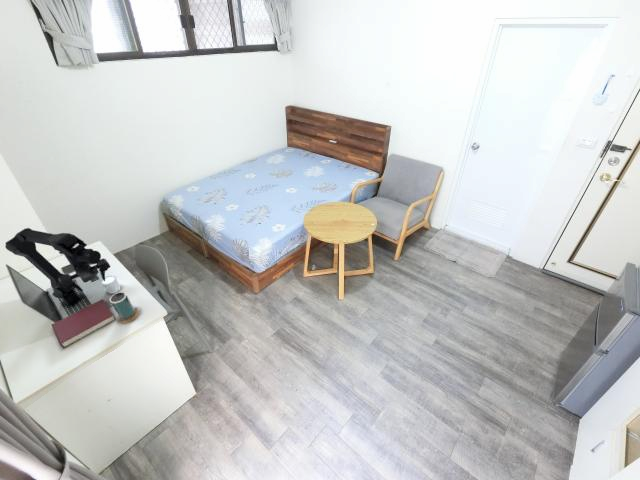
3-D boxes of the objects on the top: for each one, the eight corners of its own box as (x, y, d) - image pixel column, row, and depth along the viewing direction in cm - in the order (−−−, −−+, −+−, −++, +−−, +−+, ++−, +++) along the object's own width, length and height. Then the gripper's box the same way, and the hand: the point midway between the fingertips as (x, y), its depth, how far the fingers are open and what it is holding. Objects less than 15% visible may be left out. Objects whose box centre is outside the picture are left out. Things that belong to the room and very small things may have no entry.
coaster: (113, 320, 142) (113, 319, 141) (128, 306, 148) (128, 305, 148) (128, 325, 139) (128, 324, 139) (143, 310, 146) (143, 309, 146)
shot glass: (115, 295, 154) (109, 285, 150) (103, 293, 155) (97, 283, 151) (124, 286, 160) (119, 276, 155) (113, 284, 161) (107, 274, 157)
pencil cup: (108, 299, 143) (106, 296, 132) (123, 292, 147) (122, 288, 136) (123, 323, 144) (122, 321, 133) (137, 315, 147) (138, 312, 137)
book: (54, 328, 138) (51, 324, 136) (105, 302, 150) (102, 298, 148) (63, 348, 130) (59, 344, 128) (115, 319, 142) (113, 315, 140)
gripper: (56, 280, 123) (75, 305, 132) (107, 258, 134) (121, 283, 143) (50, 267, 129) (68, 293, 138) (98, 247, 140) (112, 272, 149)
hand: (93, 285), depth 142 cm, fingers open, 9 cm apart
